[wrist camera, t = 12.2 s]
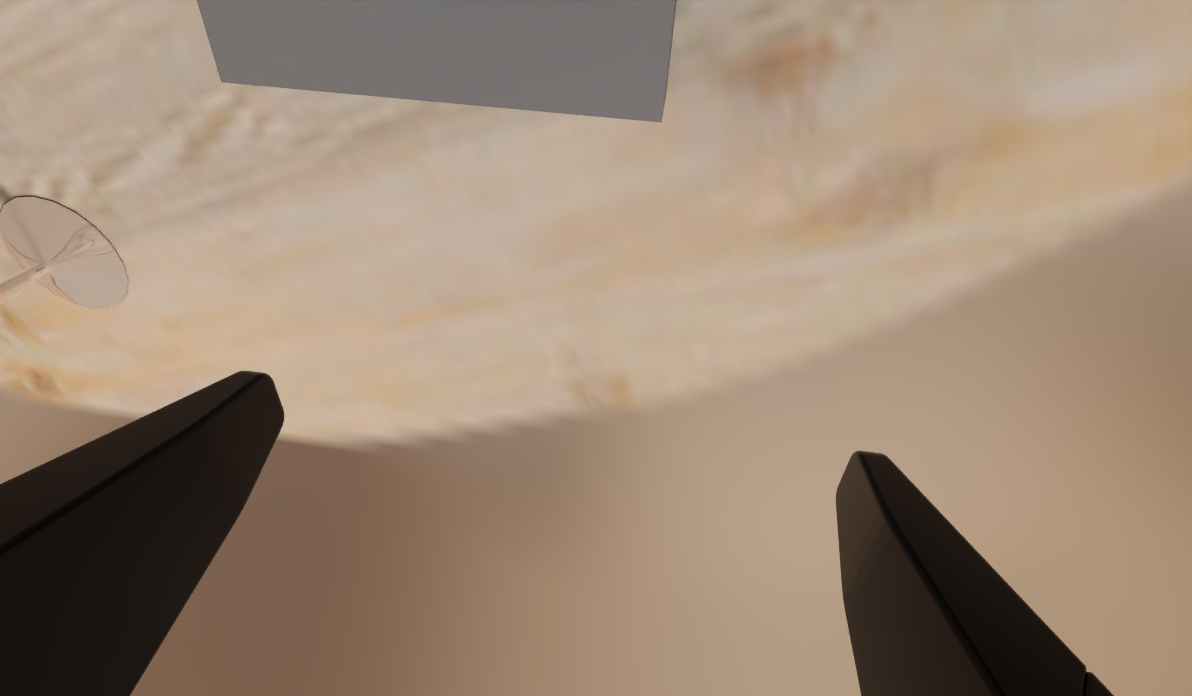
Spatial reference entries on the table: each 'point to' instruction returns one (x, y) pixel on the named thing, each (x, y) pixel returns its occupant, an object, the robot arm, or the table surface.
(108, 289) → the wineglass
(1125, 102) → the table surface
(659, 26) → the plinth
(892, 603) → the robot arm
